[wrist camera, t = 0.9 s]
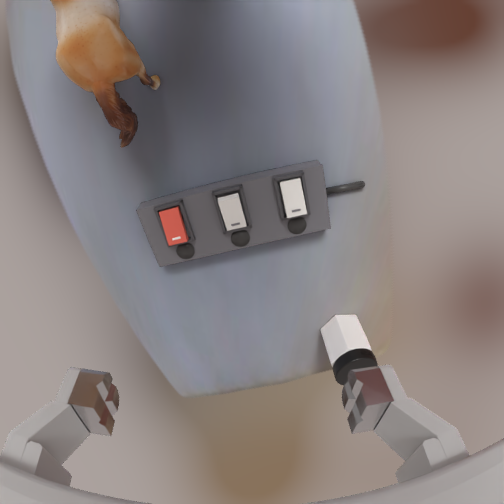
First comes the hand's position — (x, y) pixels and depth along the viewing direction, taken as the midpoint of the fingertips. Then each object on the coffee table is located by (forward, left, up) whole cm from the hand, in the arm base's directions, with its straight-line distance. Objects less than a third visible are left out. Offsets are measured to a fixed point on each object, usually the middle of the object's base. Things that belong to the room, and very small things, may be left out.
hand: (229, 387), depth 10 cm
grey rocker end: (+8, +7, -34) cm, 36 cm away
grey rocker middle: (+8, -2, -34) cm, 35 cm away
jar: (+40, +13, -38) cm, 57 cm away
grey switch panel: (+10, +2, -38) cm, 39 cm away
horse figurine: (-20, -13, -38) cm, 45 cm away
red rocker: (+8, -10, -34) cm, 36 cm away
